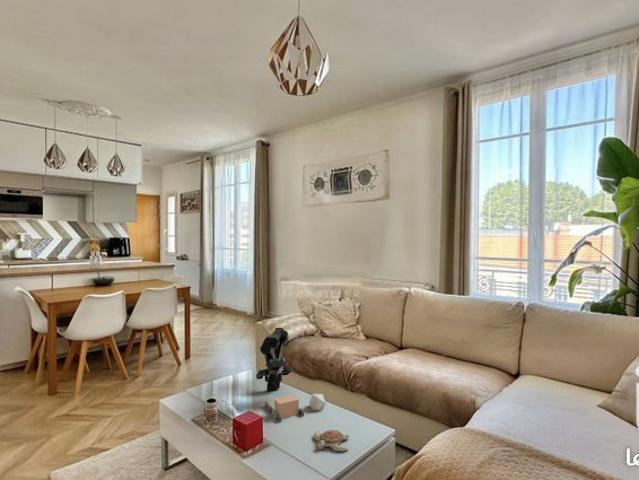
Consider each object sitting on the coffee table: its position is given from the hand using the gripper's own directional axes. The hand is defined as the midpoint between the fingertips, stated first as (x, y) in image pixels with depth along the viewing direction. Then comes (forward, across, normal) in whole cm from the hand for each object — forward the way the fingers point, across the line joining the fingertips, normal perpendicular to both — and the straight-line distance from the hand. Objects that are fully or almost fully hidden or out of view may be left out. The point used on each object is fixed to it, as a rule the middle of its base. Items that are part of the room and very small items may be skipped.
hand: (278, 388), depth 188 cm
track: (+12, 0, +1) cm, 12 cm away
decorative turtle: (+34, +4, -24) cm, 42 cm away
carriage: (+13, 0, -2) cm, 13 cm away
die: (+15, +16, -4) cm, 22 cm away
